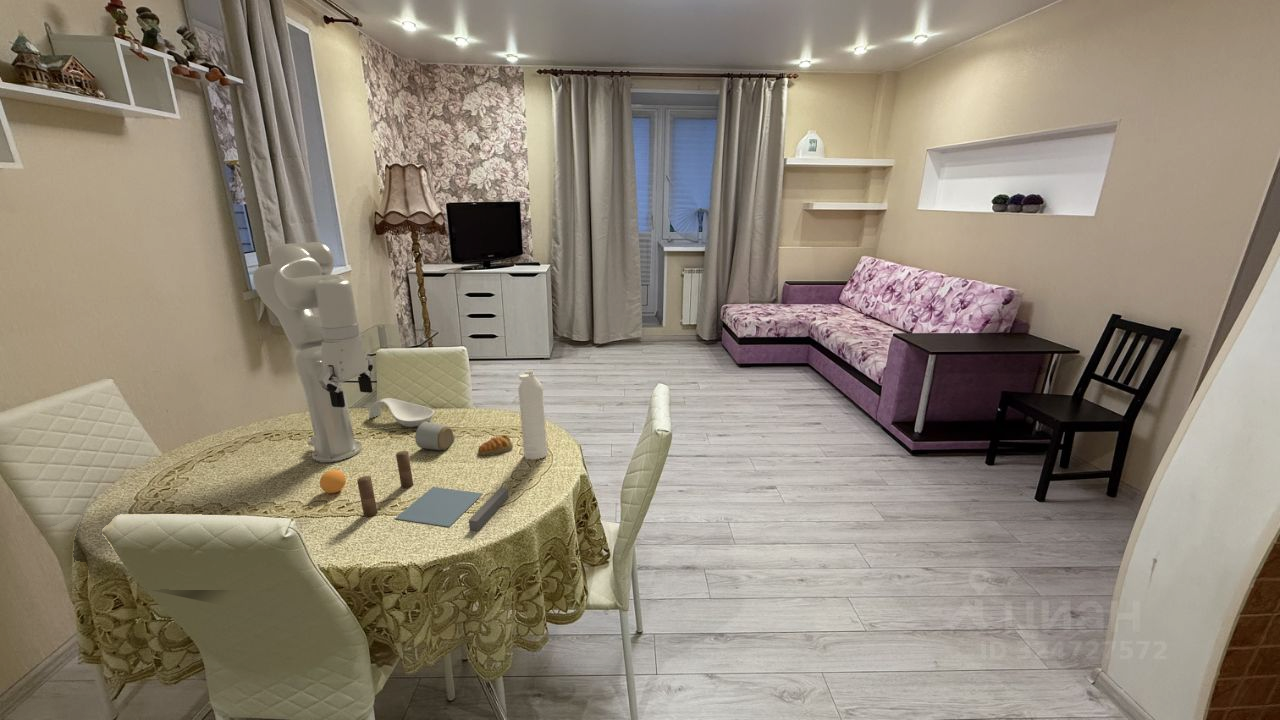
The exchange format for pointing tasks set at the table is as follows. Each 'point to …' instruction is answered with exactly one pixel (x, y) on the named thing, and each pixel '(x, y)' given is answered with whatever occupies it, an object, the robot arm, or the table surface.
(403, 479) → the post
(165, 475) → the table surface
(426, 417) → the spoon rest
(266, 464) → the table surface
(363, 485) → the post
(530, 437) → the water bottle
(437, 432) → the ceramic mug
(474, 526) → the wall
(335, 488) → the ball
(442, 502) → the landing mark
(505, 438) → the pastry
